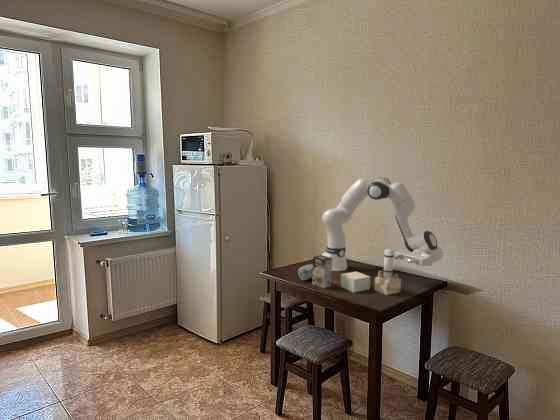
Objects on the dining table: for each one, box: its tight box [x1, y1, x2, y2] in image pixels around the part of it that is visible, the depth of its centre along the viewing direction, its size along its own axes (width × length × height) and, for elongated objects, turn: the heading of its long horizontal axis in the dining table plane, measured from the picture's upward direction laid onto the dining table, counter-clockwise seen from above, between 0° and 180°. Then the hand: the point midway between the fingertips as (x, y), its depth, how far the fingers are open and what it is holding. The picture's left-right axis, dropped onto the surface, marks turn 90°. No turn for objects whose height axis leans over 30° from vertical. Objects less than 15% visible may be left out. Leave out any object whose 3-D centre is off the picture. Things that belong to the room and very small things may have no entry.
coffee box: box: [311, 254, 333, 289], centre depth 214 cm, size 9×6×16 cm
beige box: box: [340, 271, 371, 293], centre depth 211 cm, size 11×11×7 cm
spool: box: [297, 263, 313, 282], centre depth 226 cm, size 14×10×10 cm
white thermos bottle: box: [382, 249, 395, 279], centre depth 205 cm, size 5×5×15 cm
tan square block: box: [373, 270, 402, 296], centre depth 206 cm, size 9×10×10 cm
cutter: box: [331, 279, 342, 288], centre depth 214 cm, size 14×6×1 cm, turn 50°
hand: (402, 259), depth 210 cm, fingers open, 8 cm apart
